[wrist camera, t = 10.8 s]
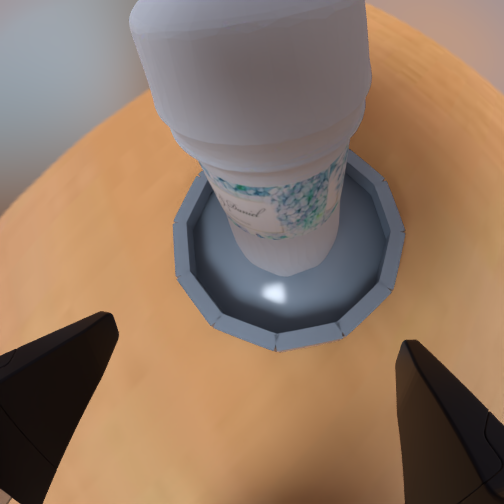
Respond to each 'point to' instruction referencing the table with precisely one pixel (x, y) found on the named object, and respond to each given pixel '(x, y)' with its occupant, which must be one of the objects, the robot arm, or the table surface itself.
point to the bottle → (263, 110)
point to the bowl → (298, 285)
